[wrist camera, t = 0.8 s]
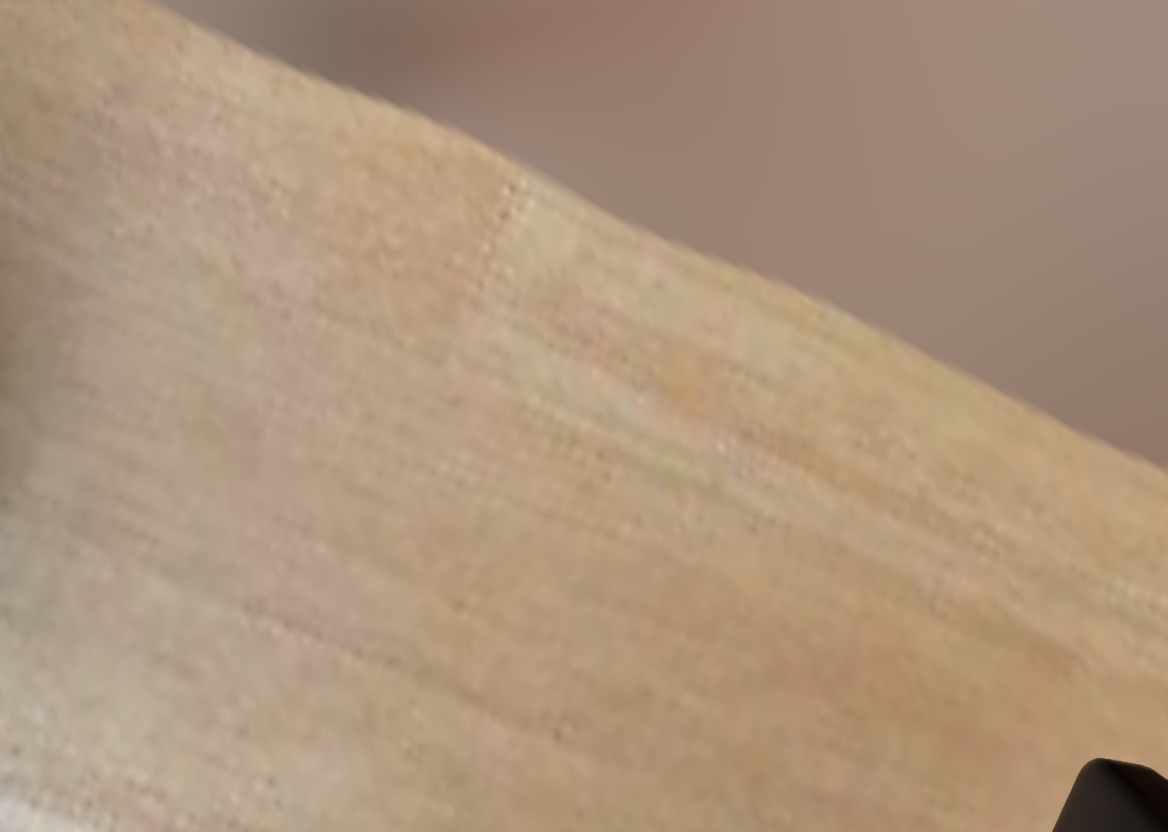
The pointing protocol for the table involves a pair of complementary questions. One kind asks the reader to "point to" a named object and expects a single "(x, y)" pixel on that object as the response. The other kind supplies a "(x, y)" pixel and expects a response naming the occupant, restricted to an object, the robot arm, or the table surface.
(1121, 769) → the robot arm
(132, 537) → the table surface
